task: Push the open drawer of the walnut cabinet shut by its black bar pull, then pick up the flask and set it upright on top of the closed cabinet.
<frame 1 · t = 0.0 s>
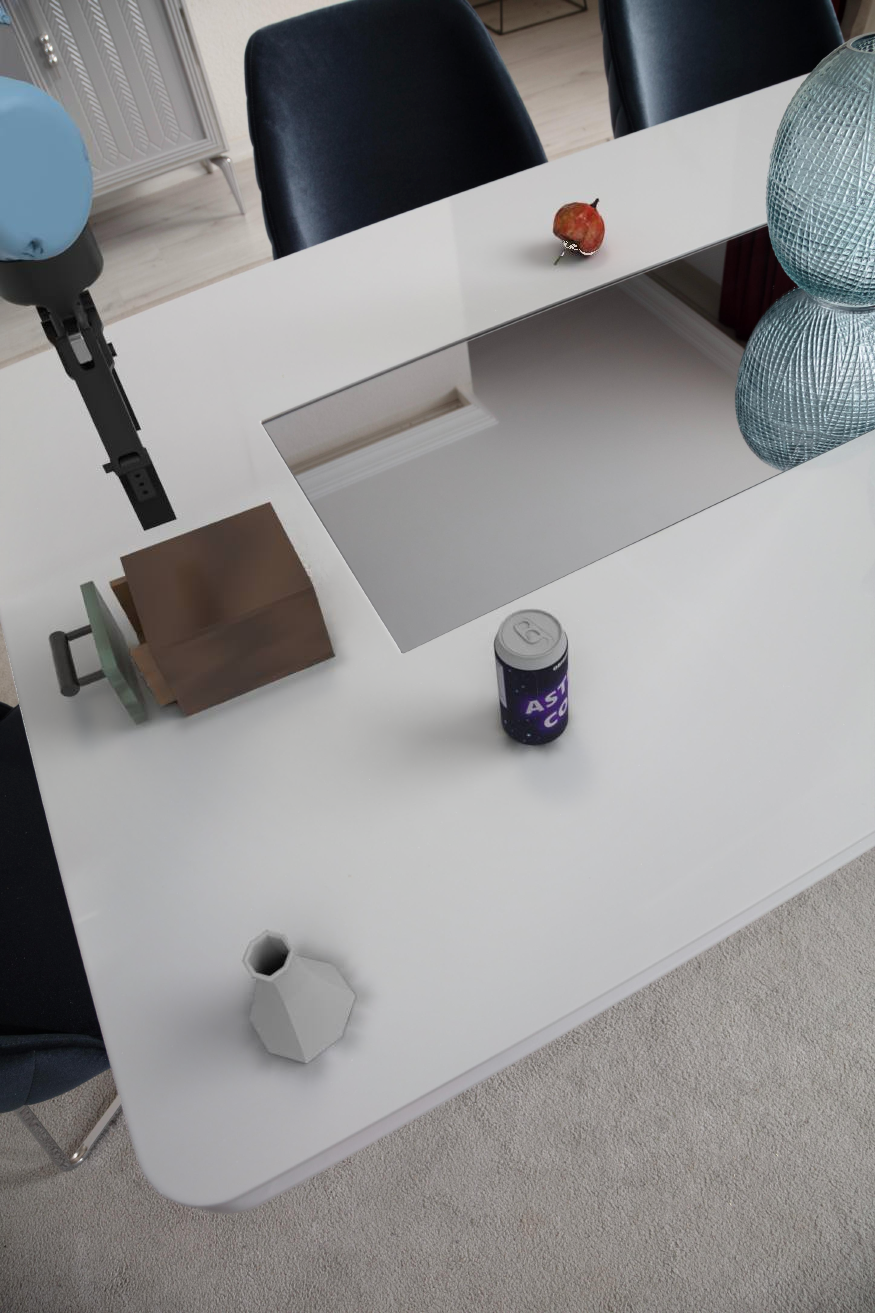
hand: (141, 475, 78), 18 cm above the table, tool pointing down, fingers open, 13 cm apart
beverage can: (534, 725, 79), on the table
flask: (303, 1010, 66), on the table
drawer: (156, 635, 84), point 5 cm above the table, slide at 3.0 cm
pomegranate: (577, 256, 128), on the table
cabinet: (242, 641, 89), on the table
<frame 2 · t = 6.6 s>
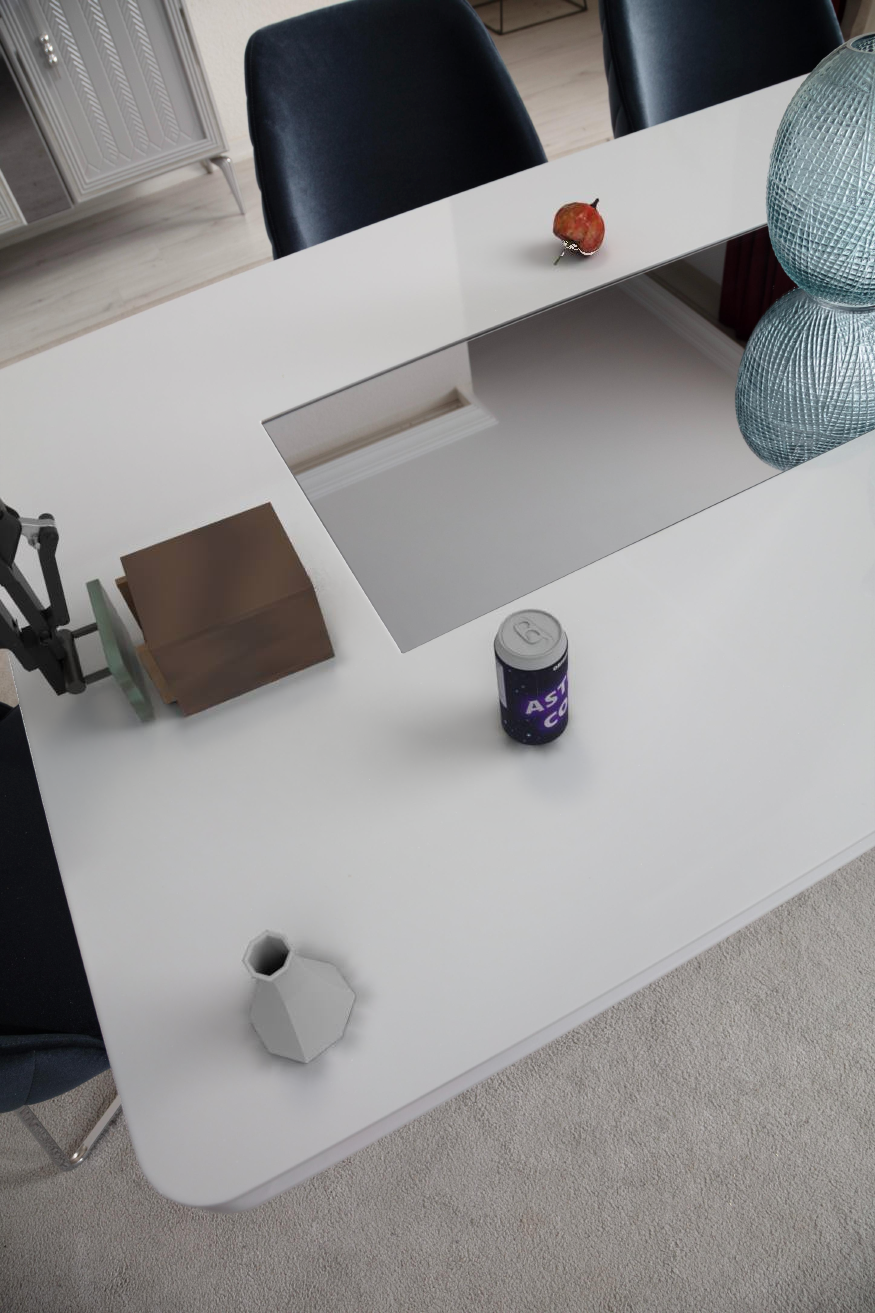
hand: (63, 682, 83), 4 cm above the table, tool pointing down, fingers closed
drawer: (162, 633, 84), point 5 cm above the table, slide at 2.5 cm, touching gripper
everything else where it was.
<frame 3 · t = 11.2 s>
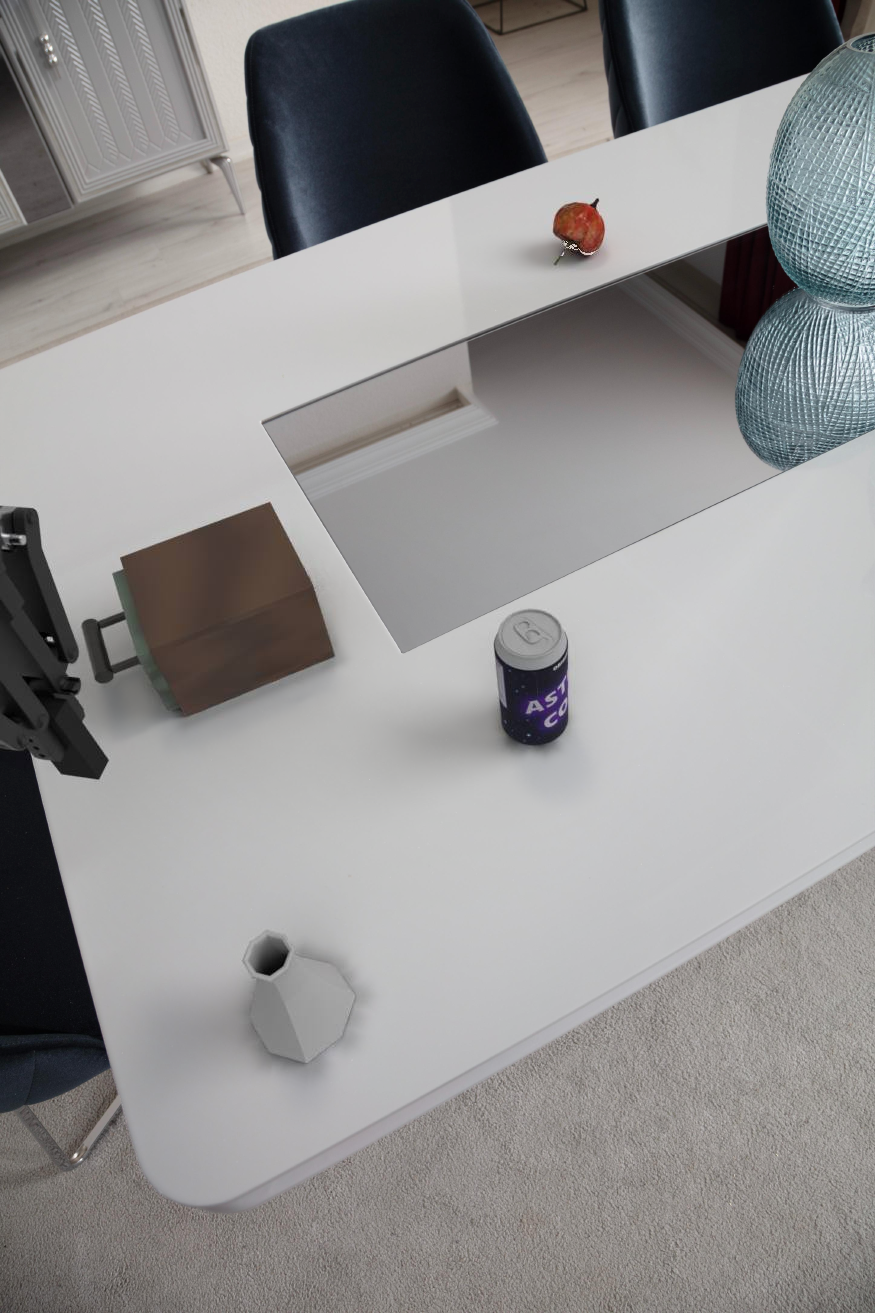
hand: (85, 767, 59), 18 cm above the table, tool pointing down, fingers closed
drawer: (187, 623, 85), point 5 cm above the table, slide at 0.0 cm, touching cabinet
everything else where it was.
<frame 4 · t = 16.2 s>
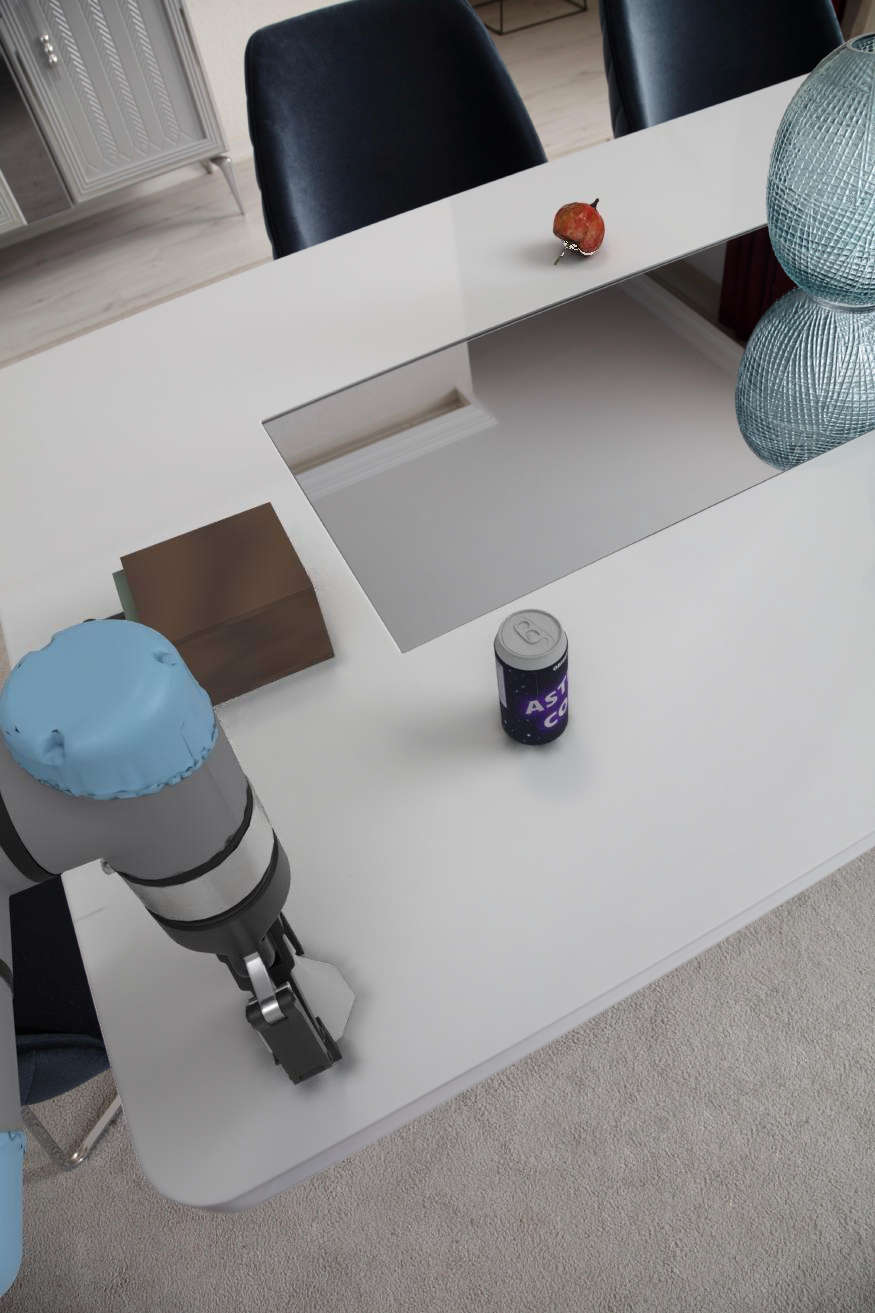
hand: (303, 1007, 66), 0 cm above the table, tool pointing down, fingers closed on flask, 7 cm apart
flask: (304, 1010, 66), on the table, touching gripper
everything else where it was.
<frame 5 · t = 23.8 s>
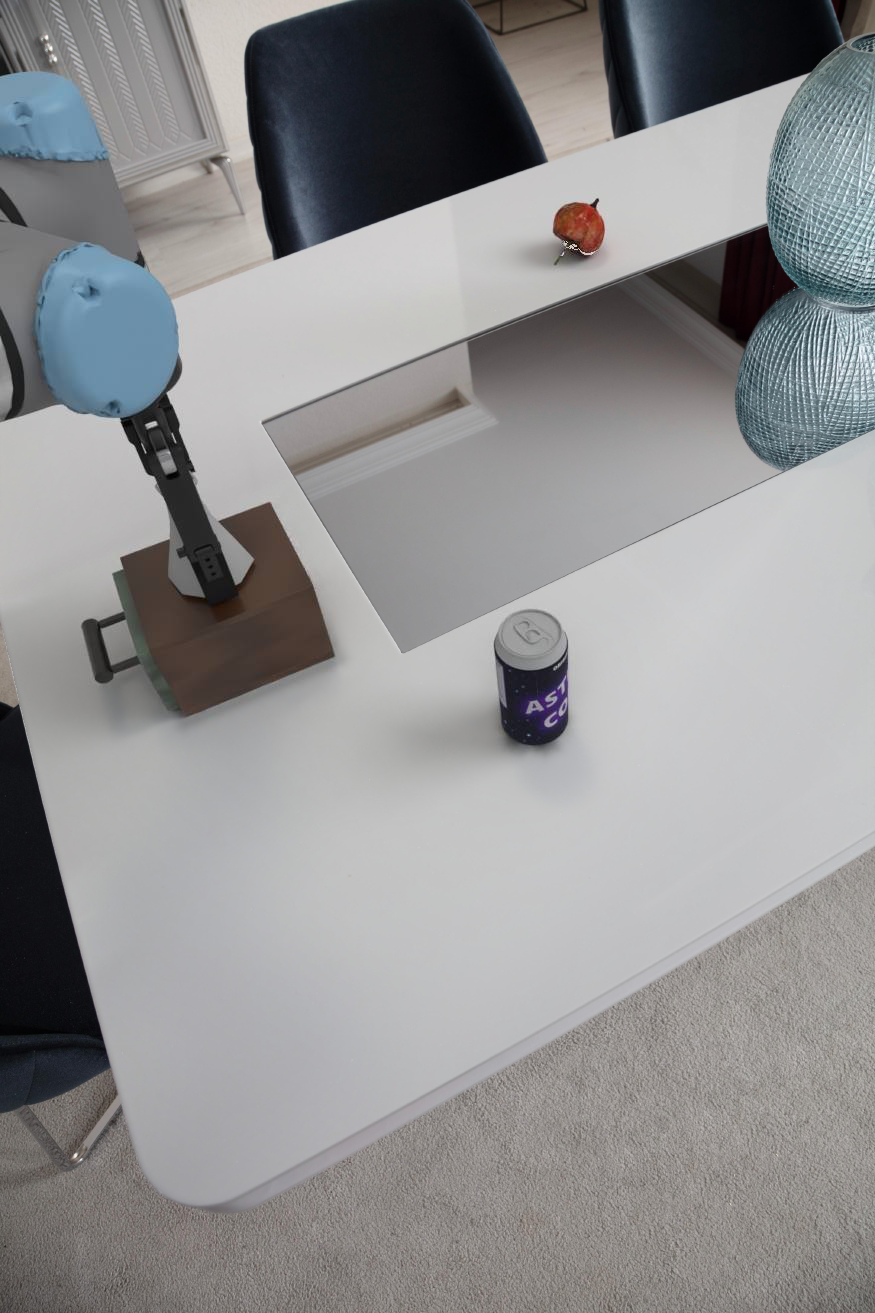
hand: (210, 568, 81), 10 cm above the table, tool pointing down, fingers closed on flask, 7 cm apart
flask: (212, 571, 82), point 10 cm above the table, touching gripper
everything else where it was.
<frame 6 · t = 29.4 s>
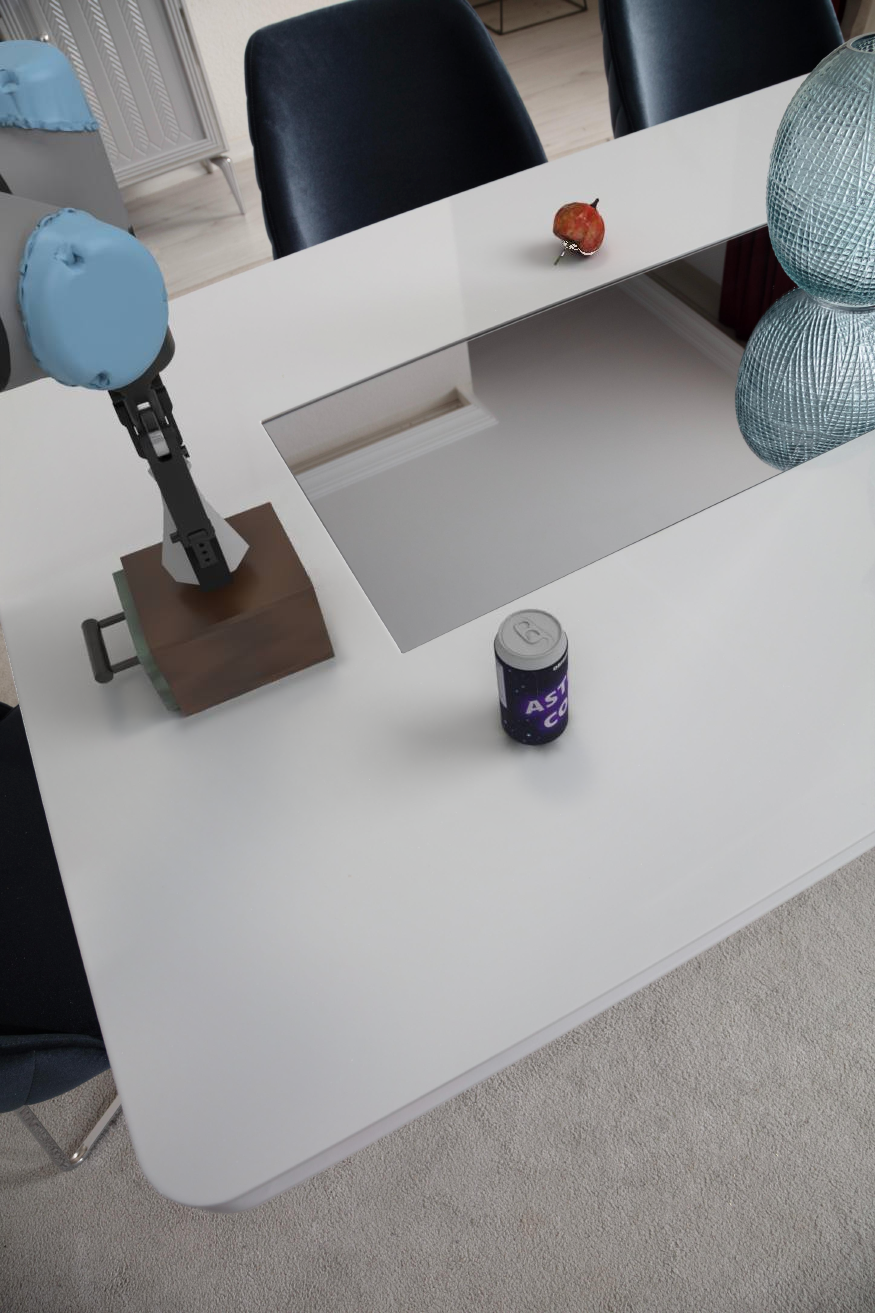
hand: (205, 555, 80), 12 cm above the table, tool pointing down, fingers closed on flask, 7 cm apart
flask: (207, 559, 80), point 11 cm above the table, touching gripper
everything else where it was.
when the fingers open (12 cm above the table, at t = 34.5 s): flask drops 2 cm, resting on cabinet.
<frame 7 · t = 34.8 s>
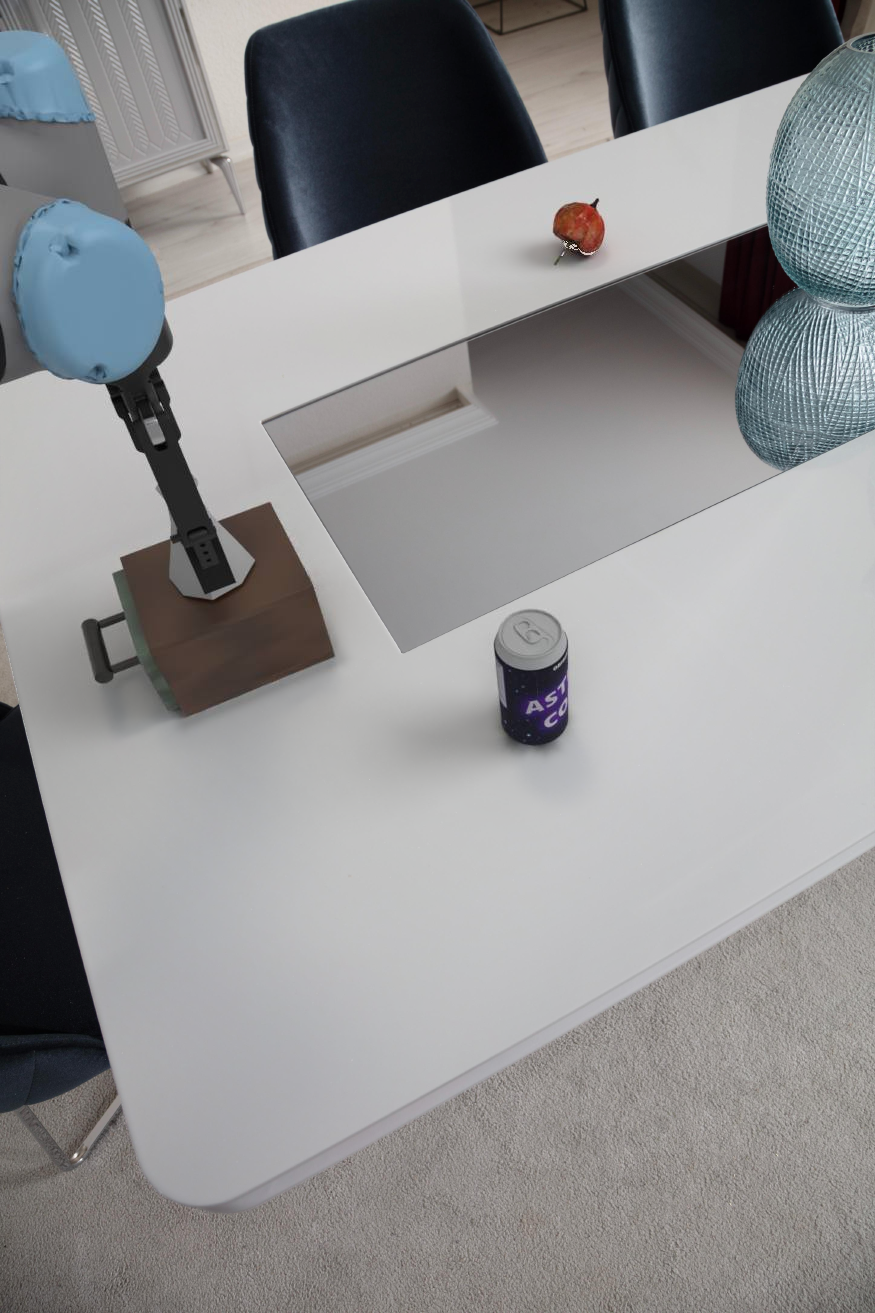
hand: (201, 542, 79), 13 cm above the table, tool pointing down, fingers open, 11 cm apart
flask: (213, 572, 82), point 9 cm above the table, touching cabinet
everything else where it was.
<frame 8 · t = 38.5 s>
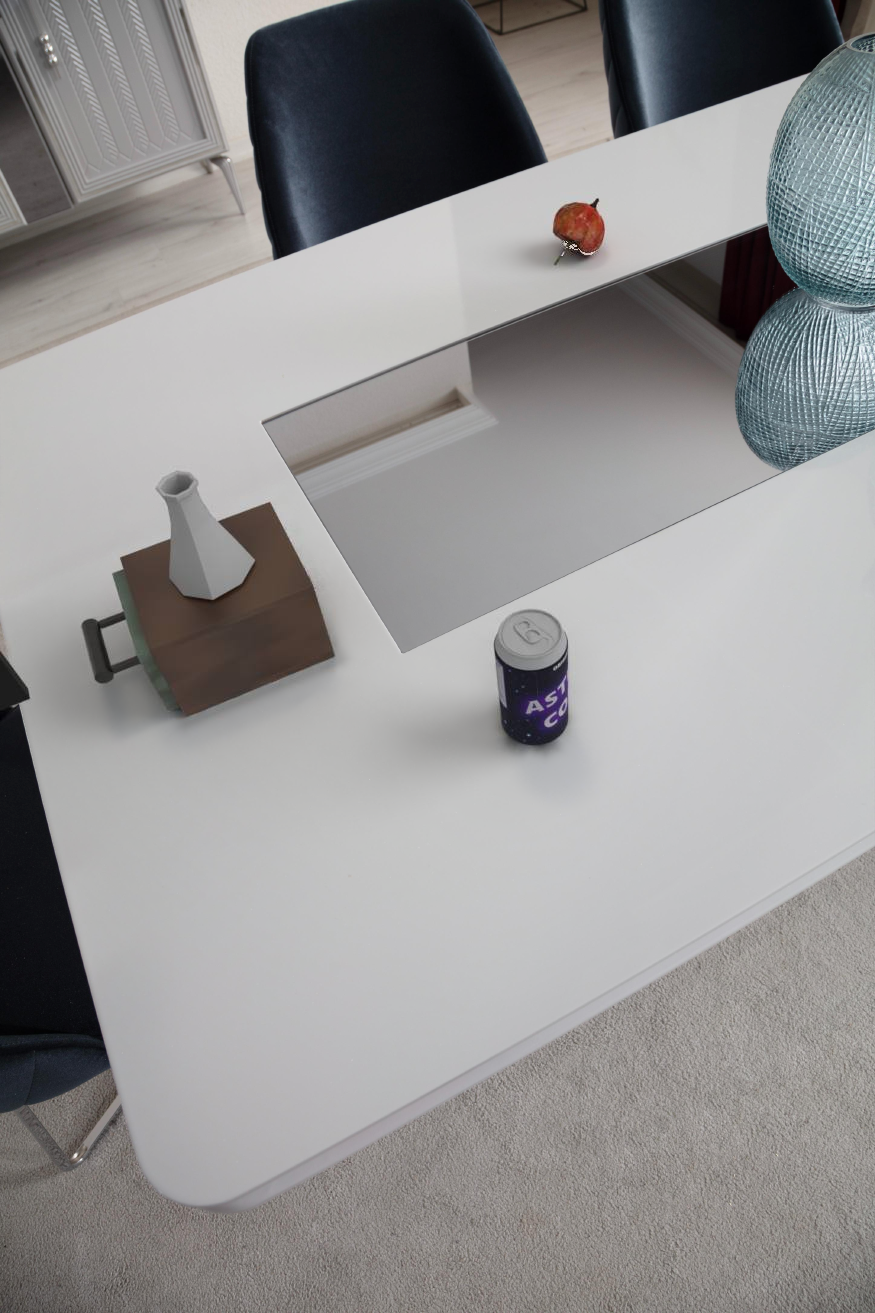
nothing on the table moved.
at the end: drawer slide at 0.0 cm; flask inside the target area on the cabinet (0.0 cm from its centre), point 9.4 cm above the cabinet's base; flask tilted 0° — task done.
